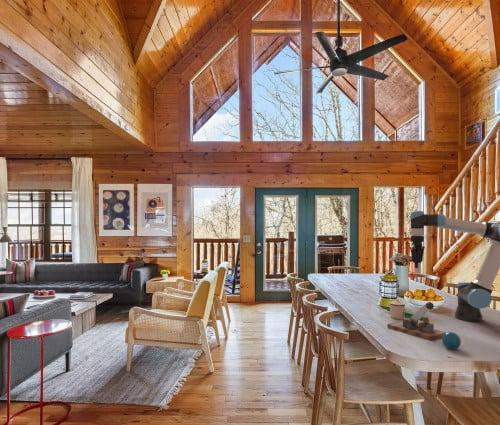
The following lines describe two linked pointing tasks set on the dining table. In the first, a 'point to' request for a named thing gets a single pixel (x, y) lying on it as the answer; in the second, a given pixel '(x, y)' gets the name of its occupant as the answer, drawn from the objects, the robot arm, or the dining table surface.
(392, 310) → the teacup with lid
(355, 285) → the dining table surface
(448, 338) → the ball
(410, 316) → the green onion
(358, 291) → the dining table surface
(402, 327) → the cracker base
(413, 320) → the lever
